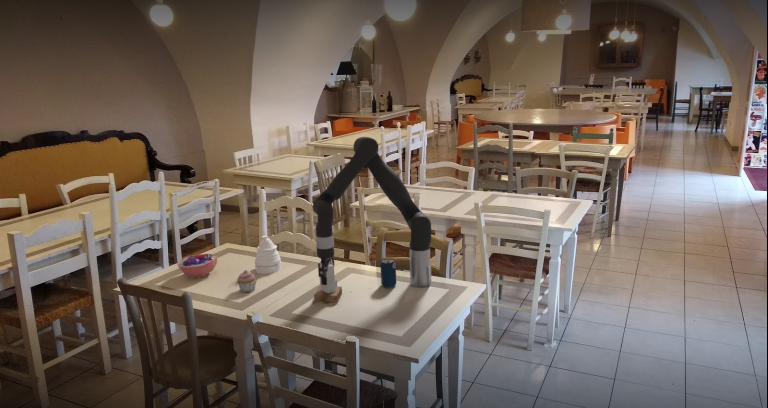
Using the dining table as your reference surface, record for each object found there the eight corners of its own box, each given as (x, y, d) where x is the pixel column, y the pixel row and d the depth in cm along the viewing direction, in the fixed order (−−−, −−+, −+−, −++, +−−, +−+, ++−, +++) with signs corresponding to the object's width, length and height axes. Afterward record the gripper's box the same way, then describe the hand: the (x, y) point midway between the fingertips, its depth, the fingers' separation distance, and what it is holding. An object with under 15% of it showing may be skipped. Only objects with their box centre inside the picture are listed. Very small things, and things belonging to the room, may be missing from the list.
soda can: (399, 284, 255) (398, 260, 252) (389, 289, 251) (388, 264, 248) (388, 281, 260) (387, 257, 257) (378, 285, 255) (377, 261, 252)
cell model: (226, 271, 280) (224, 250, 277) (194, 285, 264) (191, 262, 261) (204, 266, 289) (201, 245, 286) (171, 279, 273) (168, 257, 270)
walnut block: (342, 294, 248) (341, 286, 247) (337, 304, 238) (336, 295, 237) (320, 294, 249) (319, 286, 248) (314, 303, 240) (314, 295, 239)
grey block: (337, 287, 256) (336, 278, 255) (334, 292, 250) (333, 283, 249) (324, 286, 257) (324, 278, 256) (321, 291, 251) (320, 283, 250)
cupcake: (233, 291, 255) (231, 270, 253) (250, 284, 262) (248, 264, 259) (244, 296, 249) (242, 275, 247) (262, 289, 256) (260, 269, 253)
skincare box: (335, 291, 242) (335, 265, 239) (327, 294, 239) (326, 267, 236) (327, 287, 246) (326, 261, 243) (319, 290, 244) (318, 263, 241)
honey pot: (278, 273, 275) (275, 238, 271) (252, 274, 275) (249, 239, 271) (283, 264, 288) (280, 230, 283) (258, 265, 288) (255, 231, 283)
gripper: (328, 251, 230) (330, 287, 234) (338, 240, 243) (340, 275, 247) (311, 250, 232) (313, 286, 236) (322, 239, 245) (324, 274, 249)
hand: (327, 280), depth 242 cm, fingers open, 8 cm apart
